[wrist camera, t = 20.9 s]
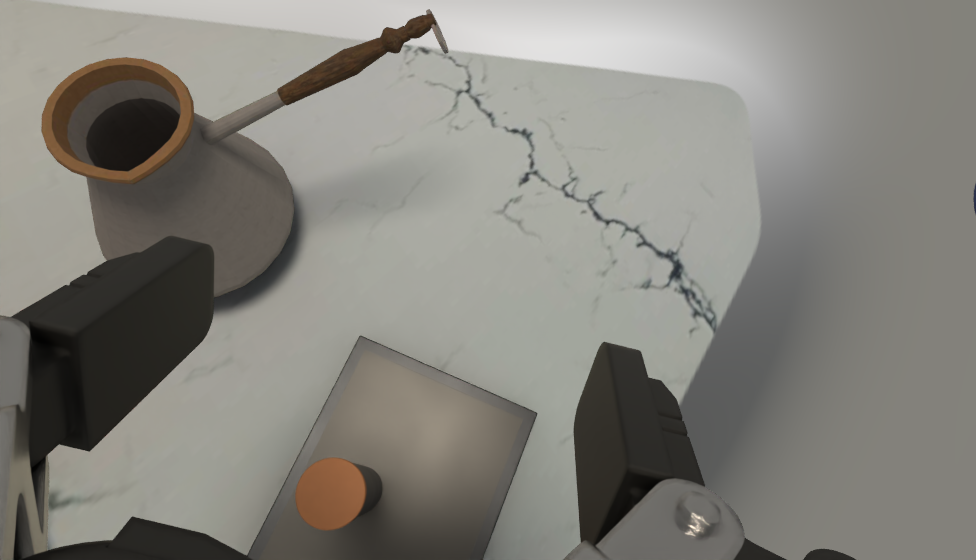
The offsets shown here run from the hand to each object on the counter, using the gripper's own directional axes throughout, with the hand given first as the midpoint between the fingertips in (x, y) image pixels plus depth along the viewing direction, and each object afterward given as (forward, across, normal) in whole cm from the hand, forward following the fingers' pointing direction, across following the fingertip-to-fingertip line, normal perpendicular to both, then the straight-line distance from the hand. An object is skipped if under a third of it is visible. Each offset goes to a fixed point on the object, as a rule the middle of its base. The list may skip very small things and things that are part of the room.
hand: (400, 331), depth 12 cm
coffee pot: (+26, +12, +10) cm, 31 cm away
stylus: (+14, +2, +20) cm, 25 cm away
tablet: (+15, 0, +21) cm, 26 cm away
